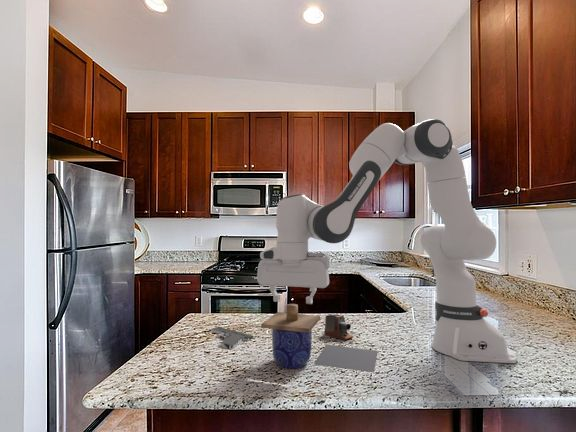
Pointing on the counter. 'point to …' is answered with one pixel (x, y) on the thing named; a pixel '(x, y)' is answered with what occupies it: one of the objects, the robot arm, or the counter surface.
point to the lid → (291, 320)
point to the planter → (291, 348)
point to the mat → (348, 358)
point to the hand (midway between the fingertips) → (292, 302)
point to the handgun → (231, 337)
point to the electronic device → (337, 327)
